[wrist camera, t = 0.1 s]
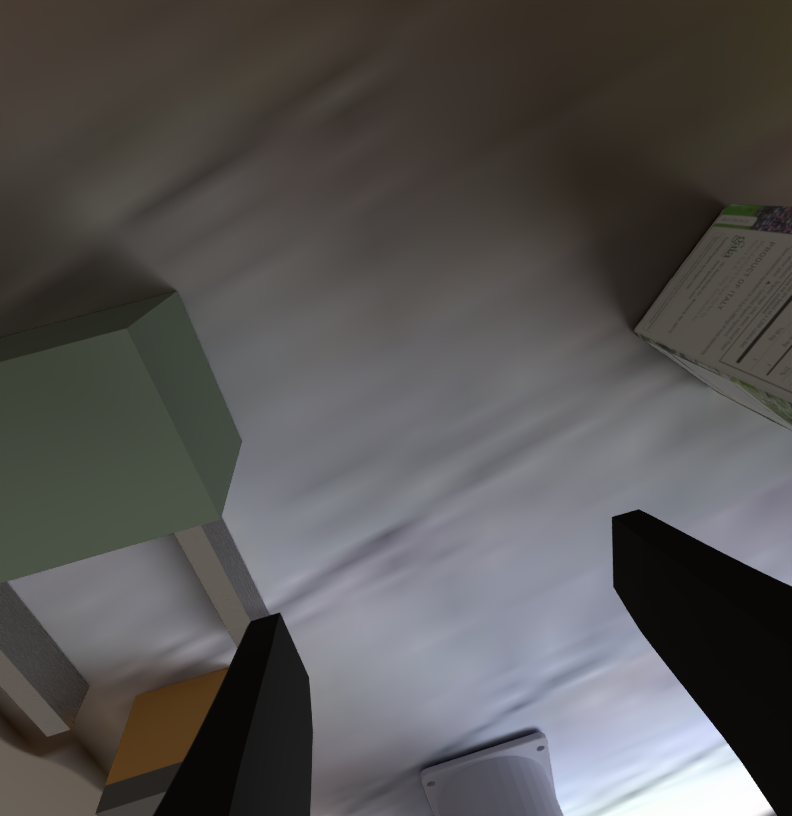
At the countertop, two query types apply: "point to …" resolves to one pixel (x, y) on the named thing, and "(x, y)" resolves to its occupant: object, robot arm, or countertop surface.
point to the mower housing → (109, 474)
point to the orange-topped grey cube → (156, 744)
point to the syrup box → (734, 310)
